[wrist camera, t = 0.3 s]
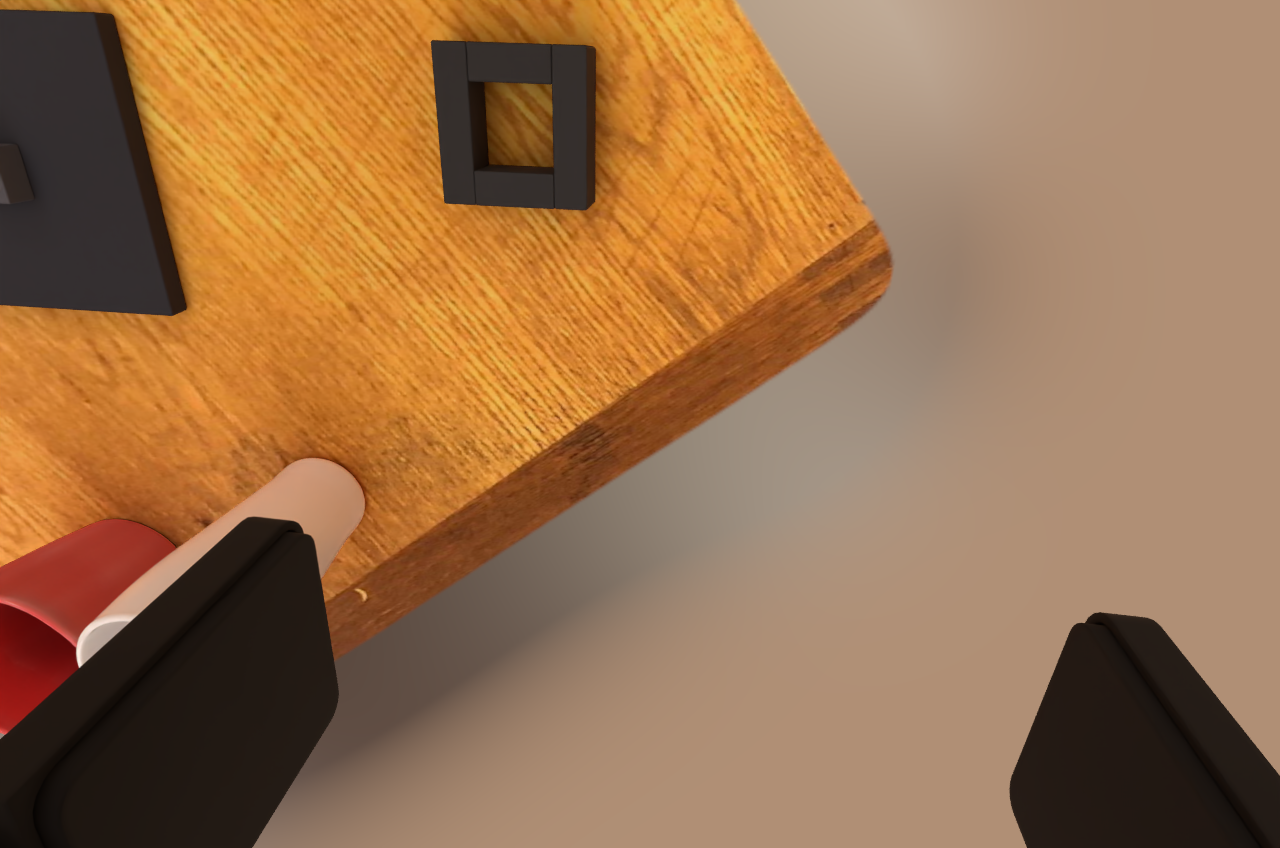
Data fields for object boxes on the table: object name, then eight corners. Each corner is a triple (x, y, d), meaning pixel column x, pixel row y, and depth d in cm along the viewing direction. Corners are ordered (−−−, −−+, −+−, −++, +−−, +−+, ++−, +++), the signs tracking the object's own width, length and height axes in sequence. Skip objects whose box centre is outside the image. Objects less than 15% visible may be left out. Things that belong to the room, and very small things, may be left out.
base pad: (-165, 5, 34) (-232, 0, 32) (113, 14, 33) (66, 9, 31) (-51, 294, 41) (-100, 309, 38) (187, 309, 39) (152, 325, 37)
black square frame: (449, 42, 32) (430, 40, 30) (595, 46, 32) (586, 45, 30) (460, 195, 35) (443, 203, 33) (595, 202, 35) (586, 210, 33)
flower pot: (238, 550, 47) (127, 660, 38) (191, 654, 51) (82, 774, 42) (78, 466, 45) (-76, 561, 36) (45, 581, 49) (-100, 690, 41)
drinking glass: (393, 471, 43) (242, 655, 29) (365, 555, 46) (217, 757, 32) (283, 424, 42) (77, 590, 29) (262, 512, 45) (66, 700, 32)
